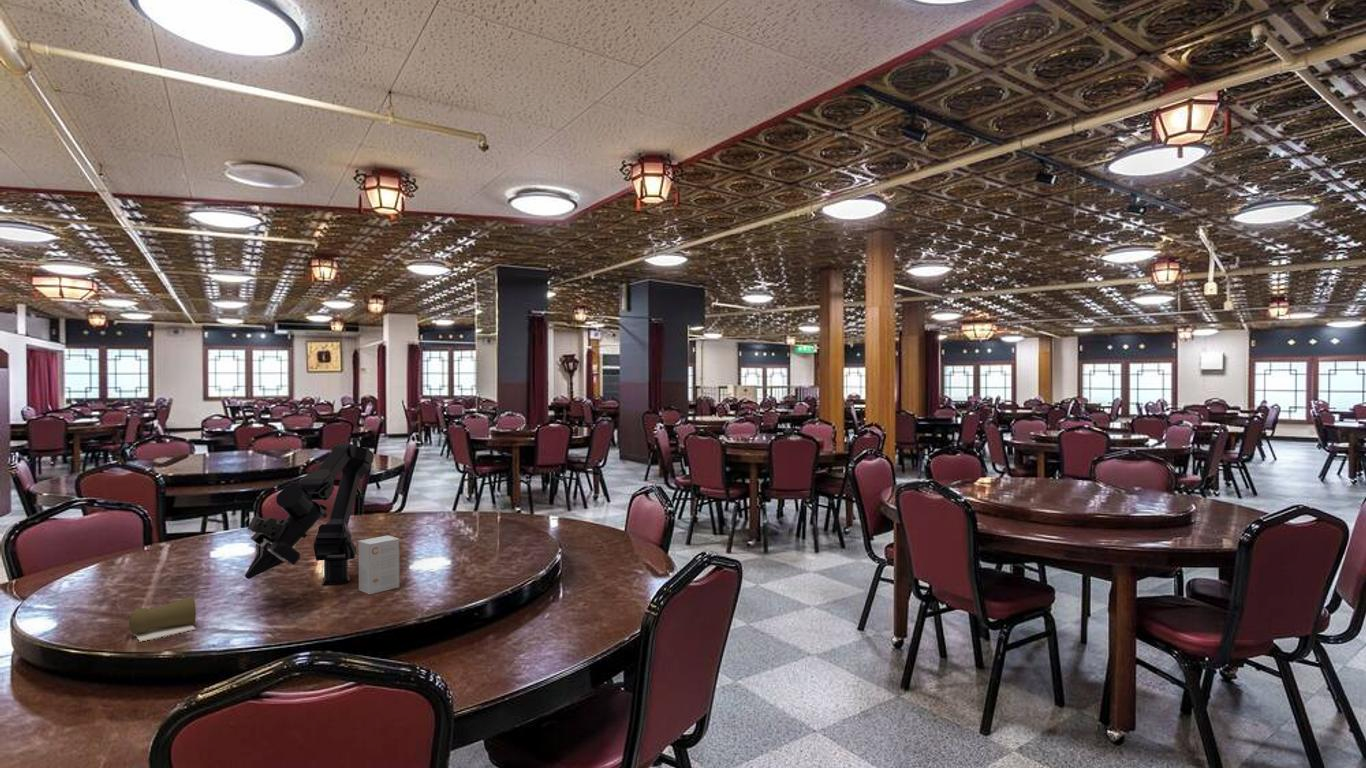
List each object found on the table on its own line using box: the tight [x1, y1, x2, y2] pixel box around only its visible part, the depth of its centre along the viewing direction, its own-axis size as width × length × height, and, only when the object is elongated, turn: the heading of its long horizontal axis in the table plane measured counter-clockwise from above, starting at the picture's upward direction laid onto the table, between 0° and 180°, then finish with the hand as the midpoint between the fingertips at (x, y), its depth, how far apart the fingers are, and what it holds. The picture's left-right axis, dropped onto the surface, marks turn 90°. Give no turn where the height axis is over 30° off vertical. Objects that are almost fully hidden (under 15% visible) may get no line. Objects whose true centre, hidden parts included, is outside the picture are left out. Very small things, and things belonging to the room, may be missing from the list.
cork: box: [128, 596, 197, 635], centre depth 145 cm, size 6×6×11 cm
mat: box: [133, 624, 197, 643], centre depth 145 cm, size 10×10×1 cm
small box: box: [357, 535, 400, 595], centre depth 174 cm, size 8×6×13 cm
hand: (246, 577), depth 156 cm, fingers closed
